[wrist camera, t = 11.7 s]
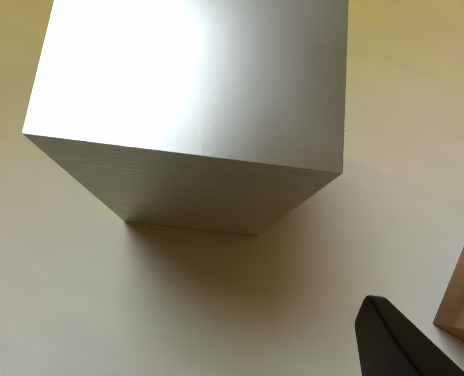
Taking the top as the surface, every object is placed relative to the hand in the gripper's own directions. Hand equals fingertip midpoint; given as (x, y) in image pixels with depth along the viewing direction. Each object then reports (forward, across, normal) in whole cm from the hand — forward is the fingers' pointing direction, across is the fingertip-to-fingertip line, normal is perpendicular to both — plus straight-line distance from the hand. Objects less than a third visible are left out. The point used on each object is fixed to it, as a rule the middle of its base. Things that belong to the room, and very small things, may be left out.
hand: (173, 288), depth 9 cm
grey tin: (+9, 0, +1) cm, 9 cm away
